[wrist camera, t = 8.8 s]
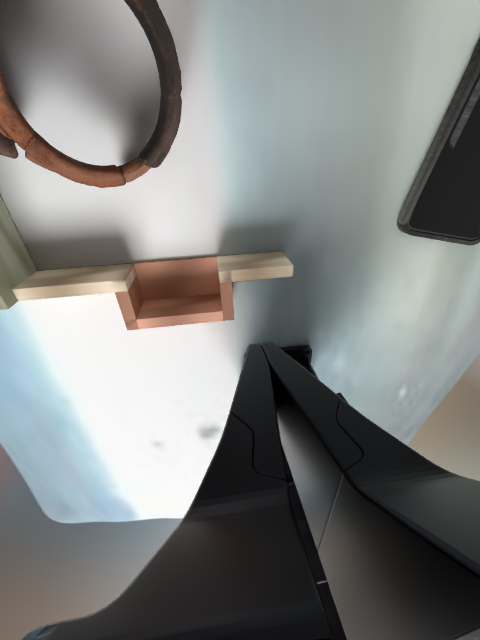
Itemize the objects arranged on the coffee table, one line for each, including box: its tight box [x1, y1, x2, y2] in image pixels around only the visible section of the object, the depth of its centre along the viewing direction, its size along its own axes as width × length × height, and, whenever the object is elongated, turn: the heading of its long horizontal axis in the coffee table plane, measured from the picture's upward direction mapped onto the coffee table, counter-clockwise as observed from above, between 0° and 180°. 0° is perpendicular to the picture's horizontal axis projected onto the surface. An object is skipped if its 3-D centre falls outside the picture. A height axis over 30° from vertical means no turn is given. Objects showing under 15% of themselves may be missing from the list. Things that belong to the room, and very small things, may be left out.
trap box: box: [0, 195, 294, 330], centre depth 14 cm, size 18×22×4 cm
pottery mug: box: [0, 0, 182, 188], centre depth 12 cm, size 12×10×8 cm
